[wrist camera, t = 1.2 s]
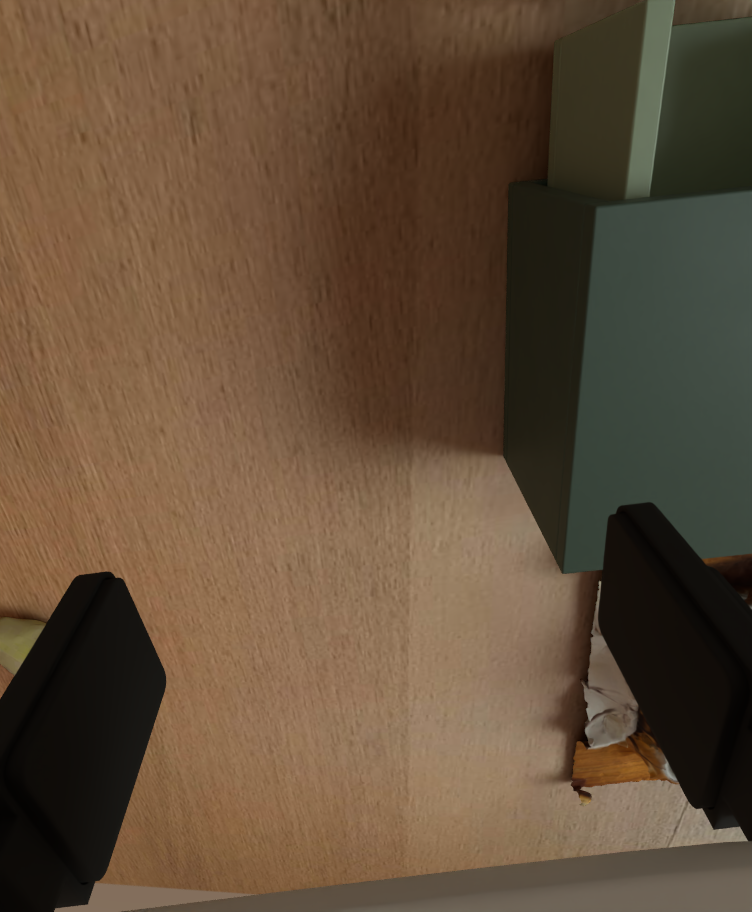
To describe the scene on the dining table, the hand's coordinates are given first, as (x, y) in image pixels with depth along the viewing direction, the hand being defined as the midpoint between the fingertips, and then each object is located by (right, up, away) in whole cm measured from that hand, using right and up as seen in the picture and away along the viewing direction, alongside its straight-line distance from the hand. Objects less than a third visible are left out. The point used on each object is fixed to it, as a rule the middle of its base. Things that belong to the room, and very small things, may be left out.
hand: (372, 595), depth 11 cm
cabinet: (+13, +9, +17) cm, 23 cm away
